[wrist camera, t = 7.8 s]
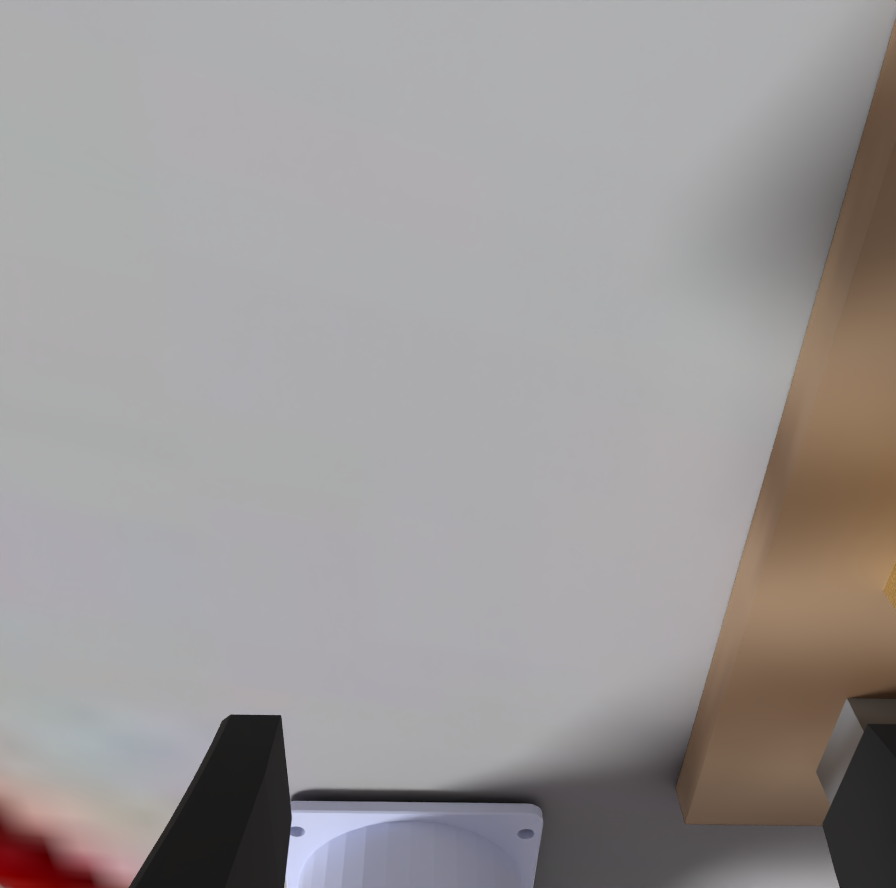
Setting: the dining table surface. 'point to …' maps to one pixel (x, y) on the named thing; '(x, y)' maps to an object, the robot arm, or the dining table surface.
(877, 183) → the shaft stand
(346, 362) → the dining table surface
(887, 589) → the block
